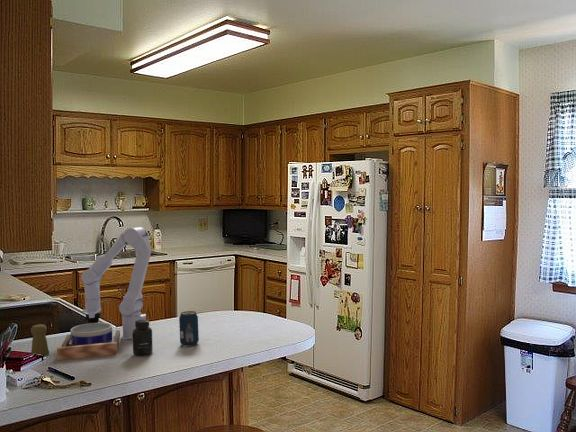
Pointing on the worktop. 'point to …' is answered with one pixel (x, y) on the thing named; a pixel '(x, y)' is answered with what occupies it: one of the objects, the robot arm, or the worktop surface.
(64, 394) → the worktop surface
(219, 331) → the worktop surface
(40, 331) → the cork
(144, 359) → the worktop surface
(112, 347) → the wooden tray
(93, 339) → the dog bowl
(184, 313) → the soda can
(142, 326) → the supplement bottle
